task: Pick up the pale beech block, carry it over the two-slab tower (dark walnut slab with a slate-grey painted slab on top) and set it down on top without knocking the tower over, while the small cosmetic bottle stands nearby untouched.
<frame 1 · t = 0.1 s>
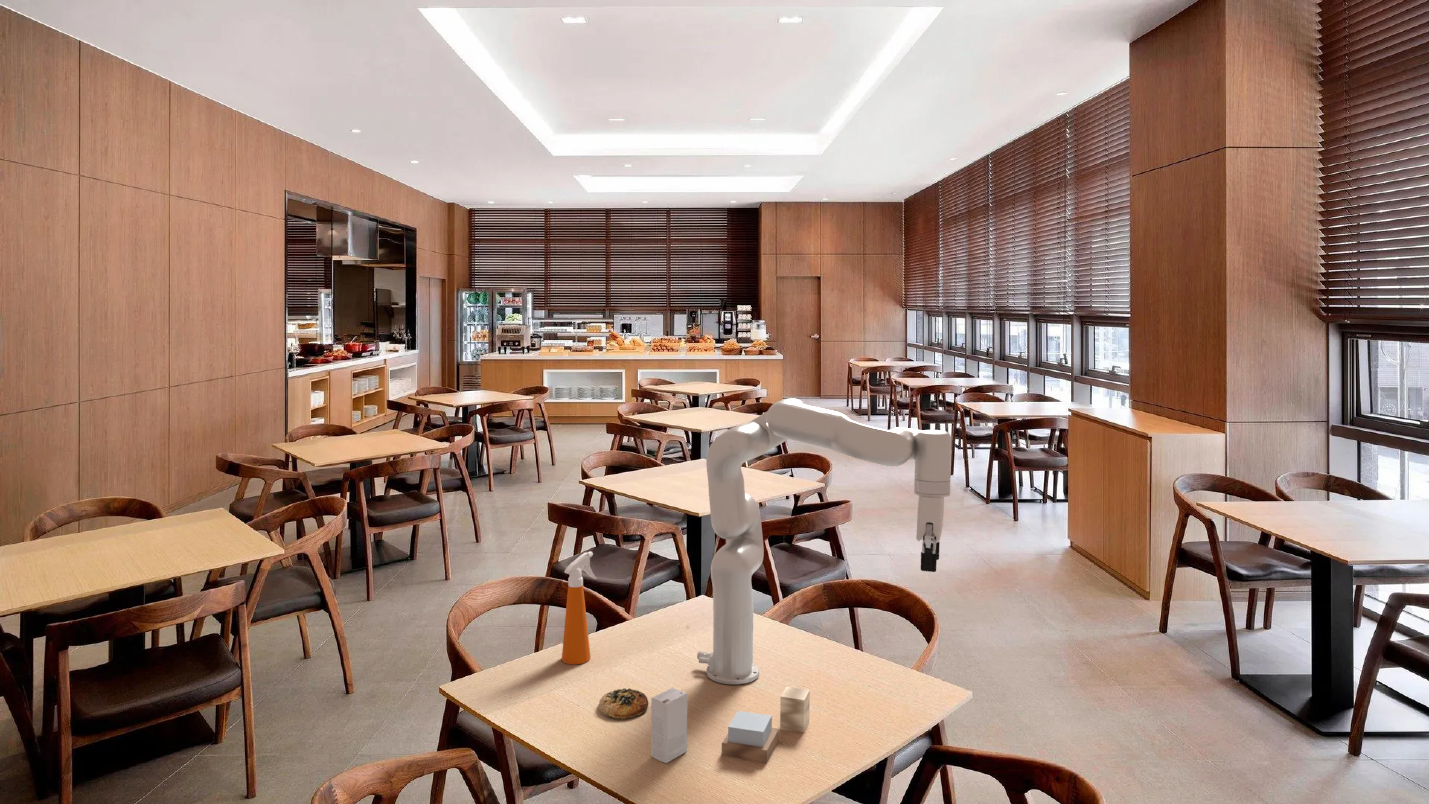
hand: (930, 564, 178), 31 cm above the table, tool pointing down, fingers open, 9 cm apart
beech block: (794, 725, 170), on the table
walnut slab: (750, 750, 160), on the table
bread roll: (622, 710, 177), on the table
skincare box: (669, 756, 157), on the table
spray bottle: (581, 657, 205), on the table
grey slab: (750, 735, 160), point 2 cm above the table
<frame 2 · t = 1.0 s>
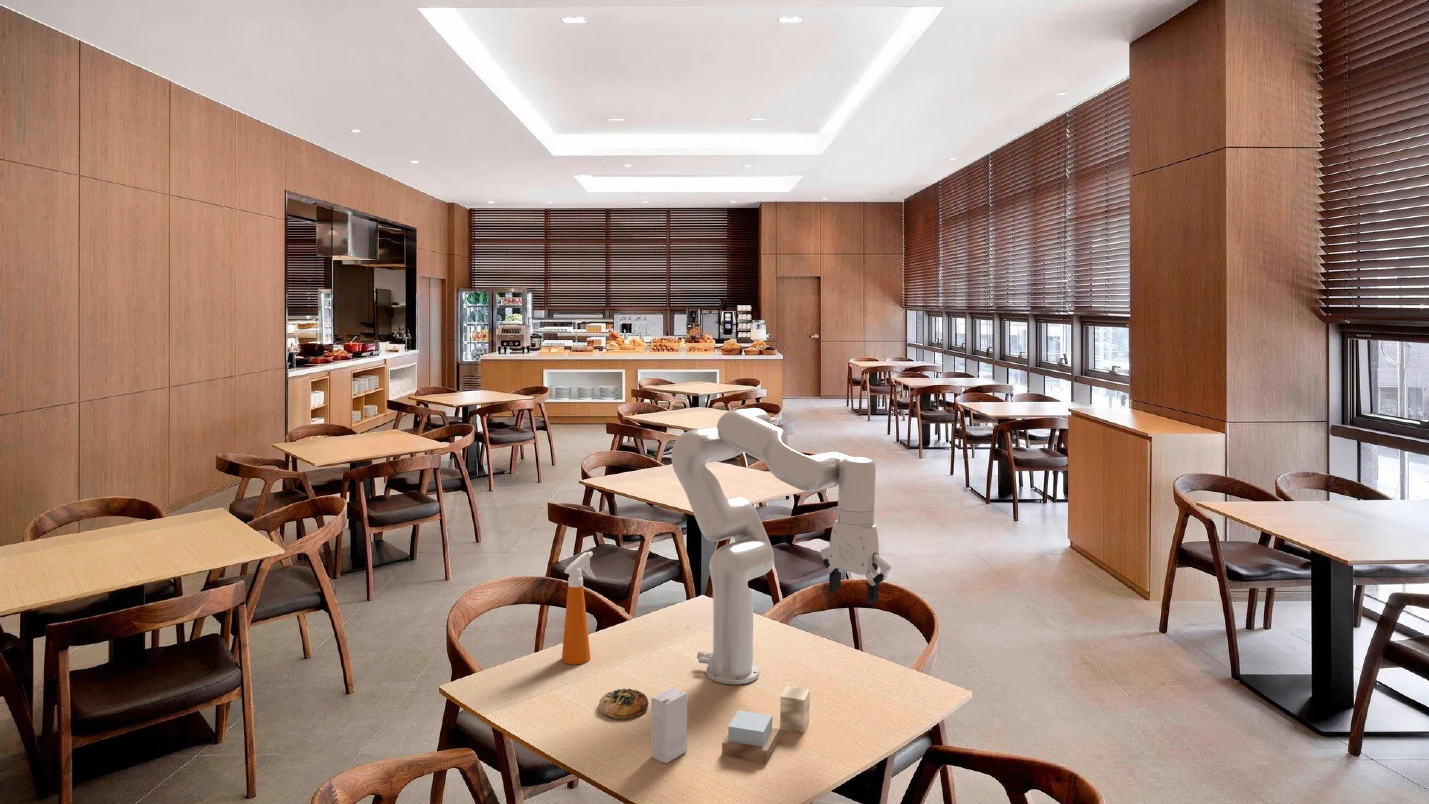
hand: (853, 596, 172), 26 cm above the table, tool pointing down, fingers open, 9 cm apart
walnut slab: (751, 750, 160), on the table, touching grey slab
grey slab: (750, 735, 160), point 2 cm above the table, touching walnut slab
everything else where it was.
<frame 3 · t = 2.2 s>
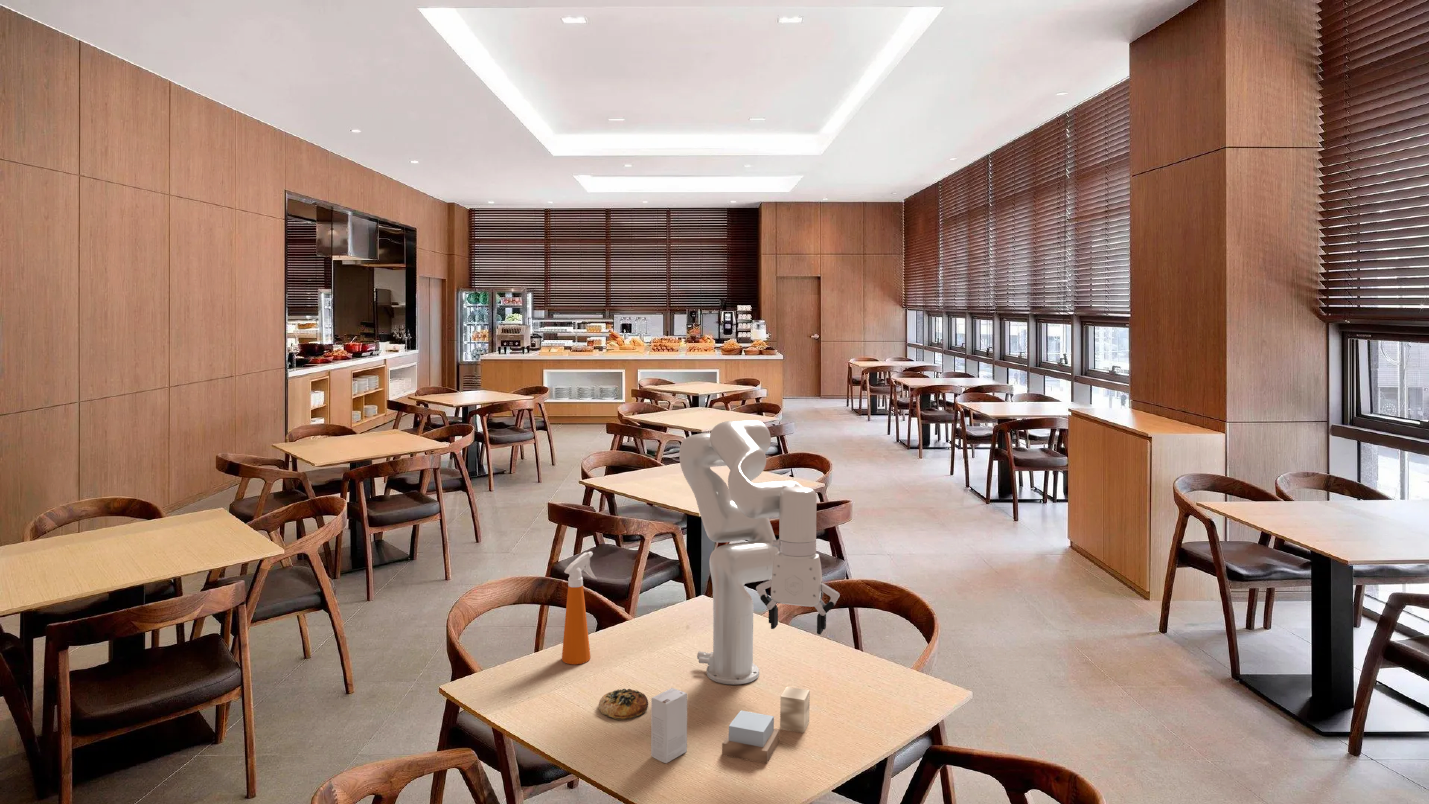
hand: (797, 629, 168), 21 cm above the table, tool pointing down, fingers open, 9 cm apart
nothing on the table moved.
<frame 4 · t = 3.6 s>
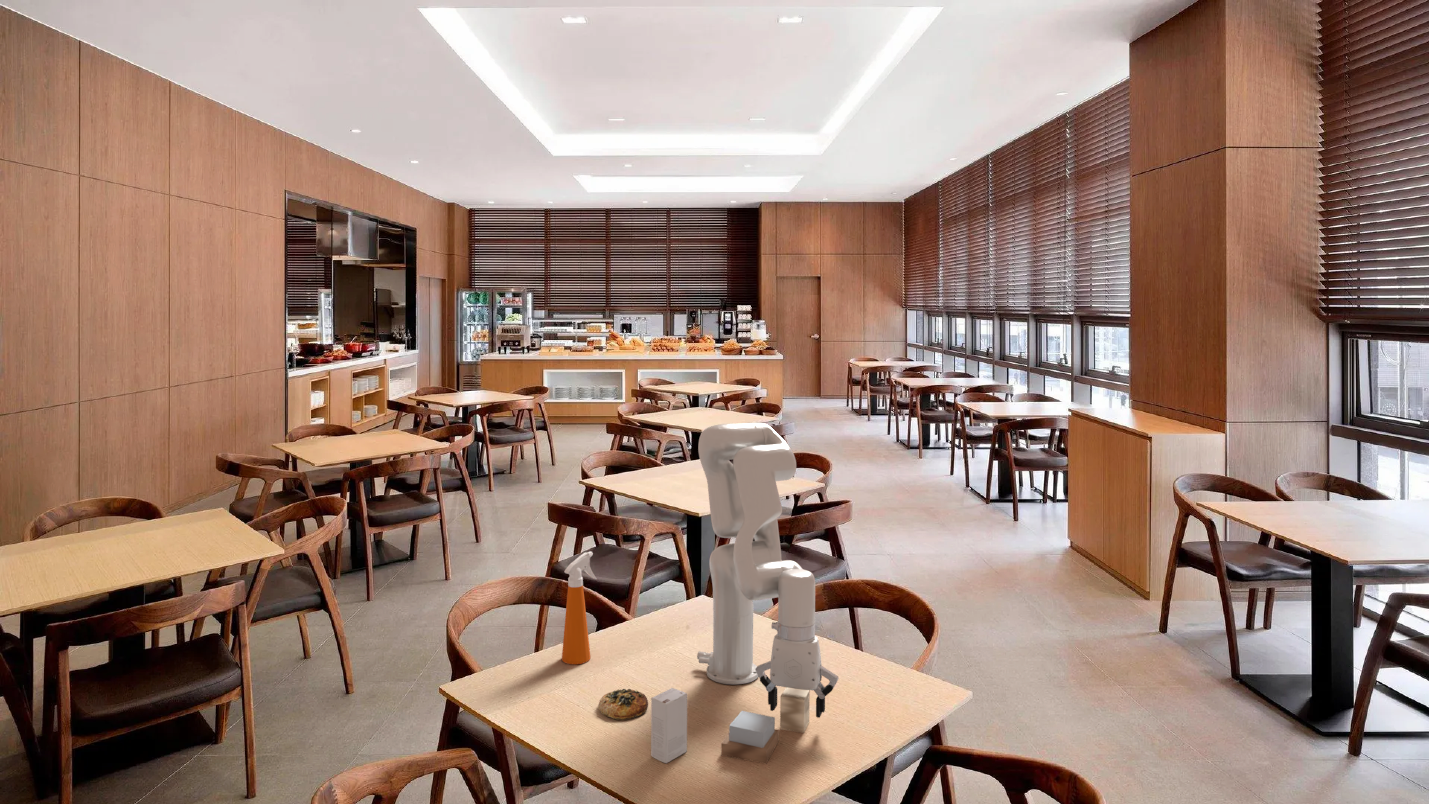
hand: (796, 711, 169), 3 cm above the table, tool pointing down, fingers open, 9 cm apart
nothing on the table moved.
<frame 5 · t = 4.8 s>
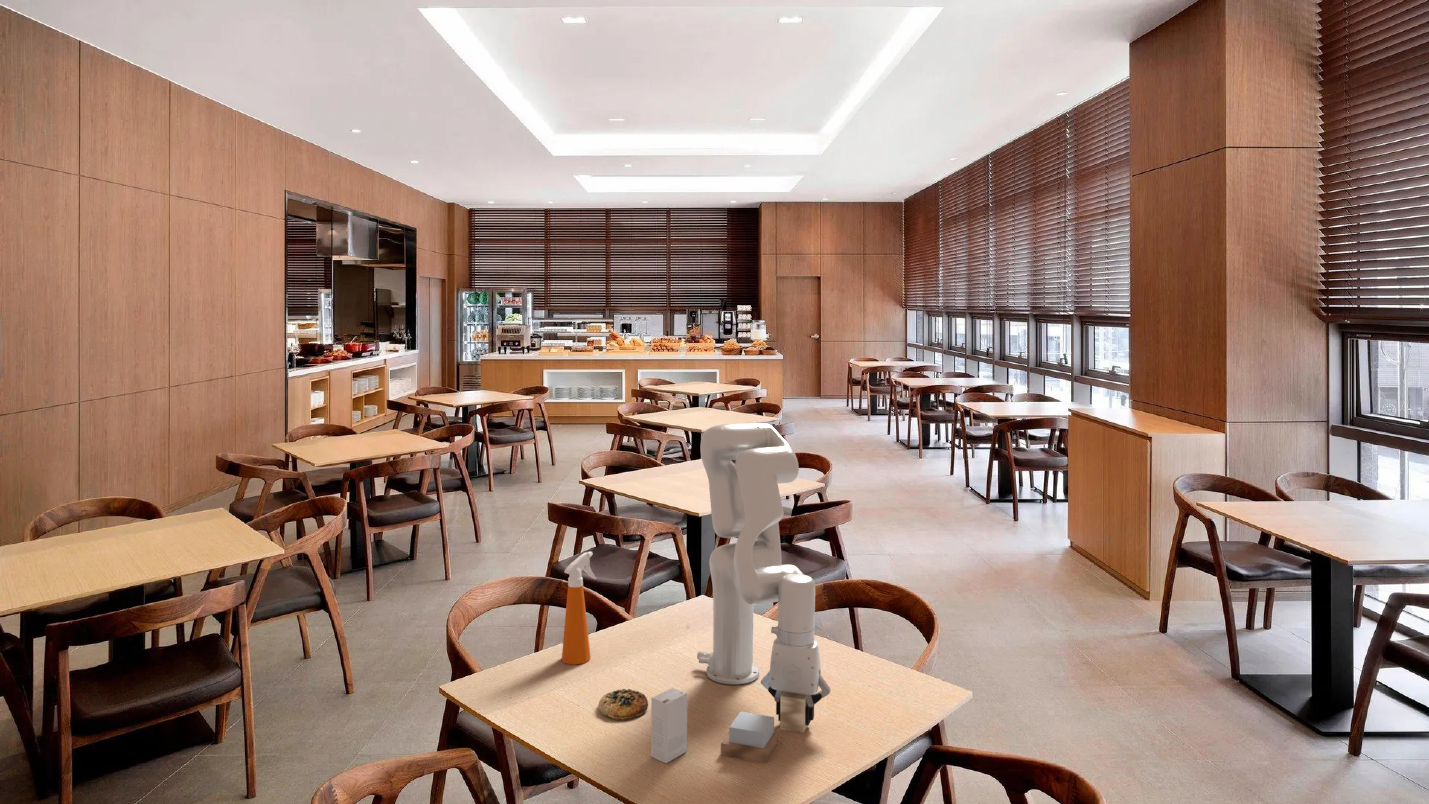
hand: (794, 719, 169), 1 cm above the table, tool pointing down, fingers closed on beech block, 5 cm apart
beech block: (794, 725, 170), on the table, touching gripper
everything else where it was.
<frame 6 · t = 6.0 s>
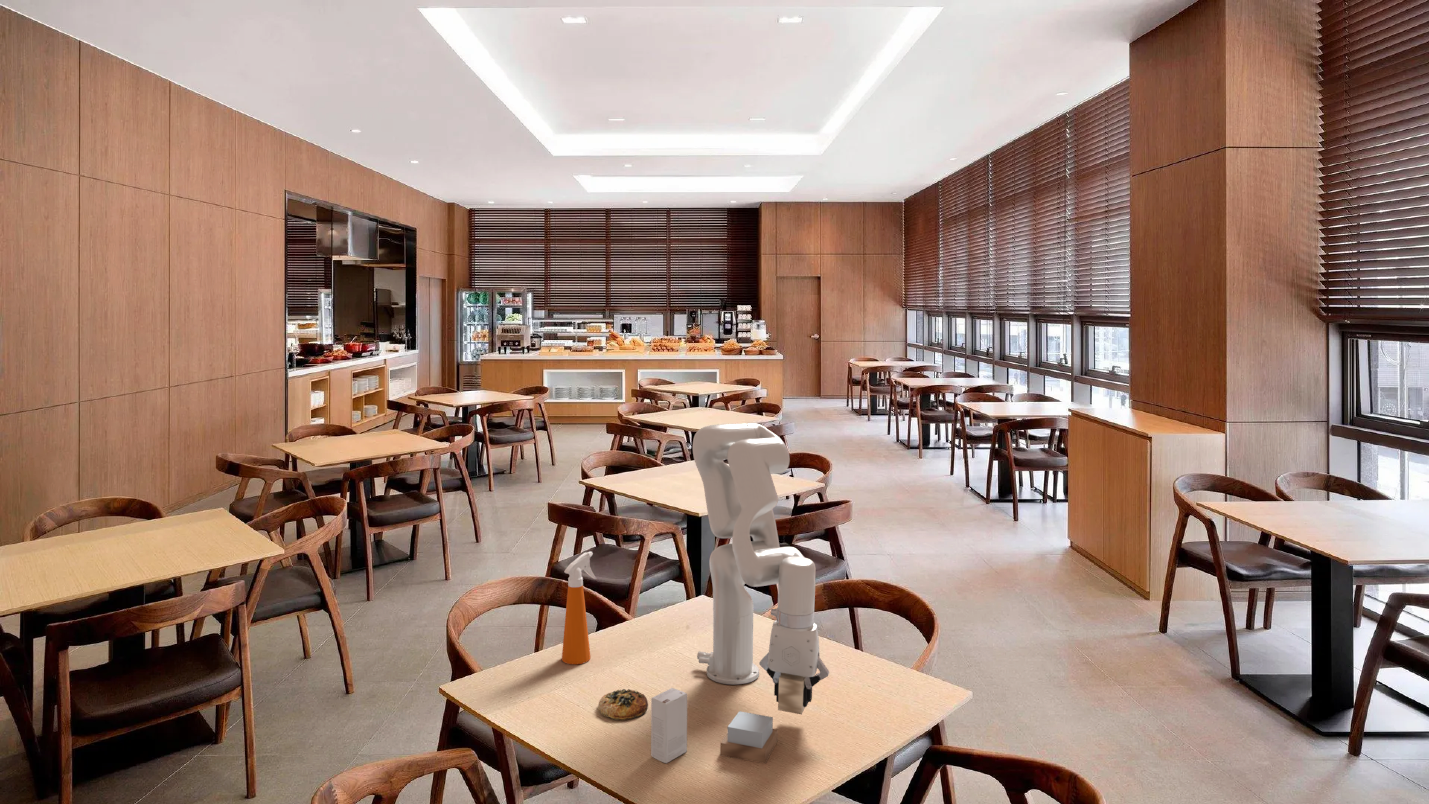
hand: (792, 700, 170), 5 cm above the table, tool pointing down, fingers closed on beech block, 5 cm apart
beech block: (792, 706, 170), point 4 cm above the table, touching gripper
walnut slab: (749, 750, 160), on the table
grey slab: (750, 736, 160), point 2 cm above the table
everything else where it was.
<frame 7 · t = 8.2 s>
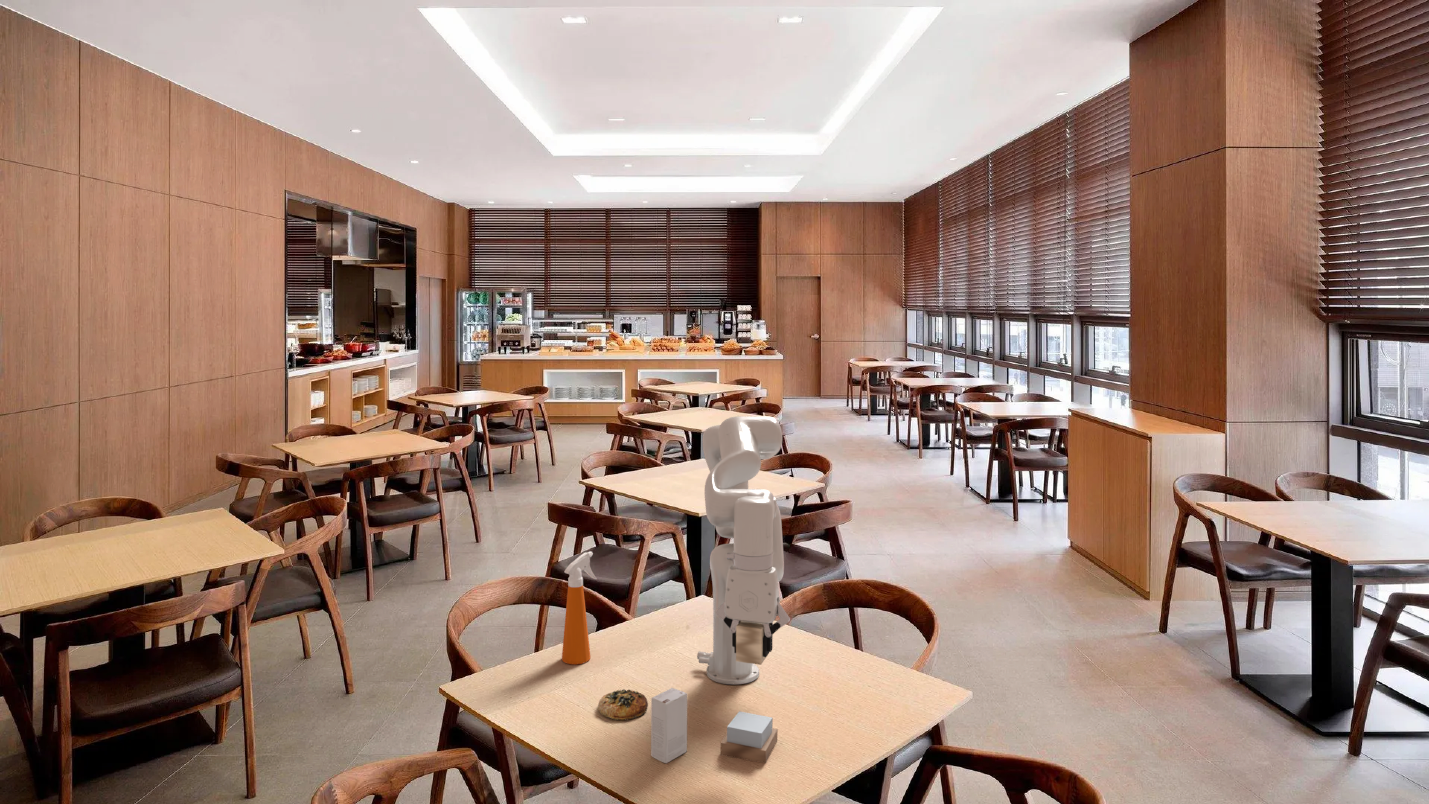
hand: (752, 651, 159), 19 cm above the table, tool pointing down, fingers closed on beech block, 5 cm apart
beech block: (752, 658, 159), point 18 cm above the table, touching gripper
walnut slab: (749, 750, 160), on the table, touching grey slab
grey slab: (749, 736, 160), point 2 cm above the table, touching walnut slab
everything else where it was.
when the fingers open (8 cm above the table, at t = 11.0 s): beech block drops 2 cm, resting on grey slab.
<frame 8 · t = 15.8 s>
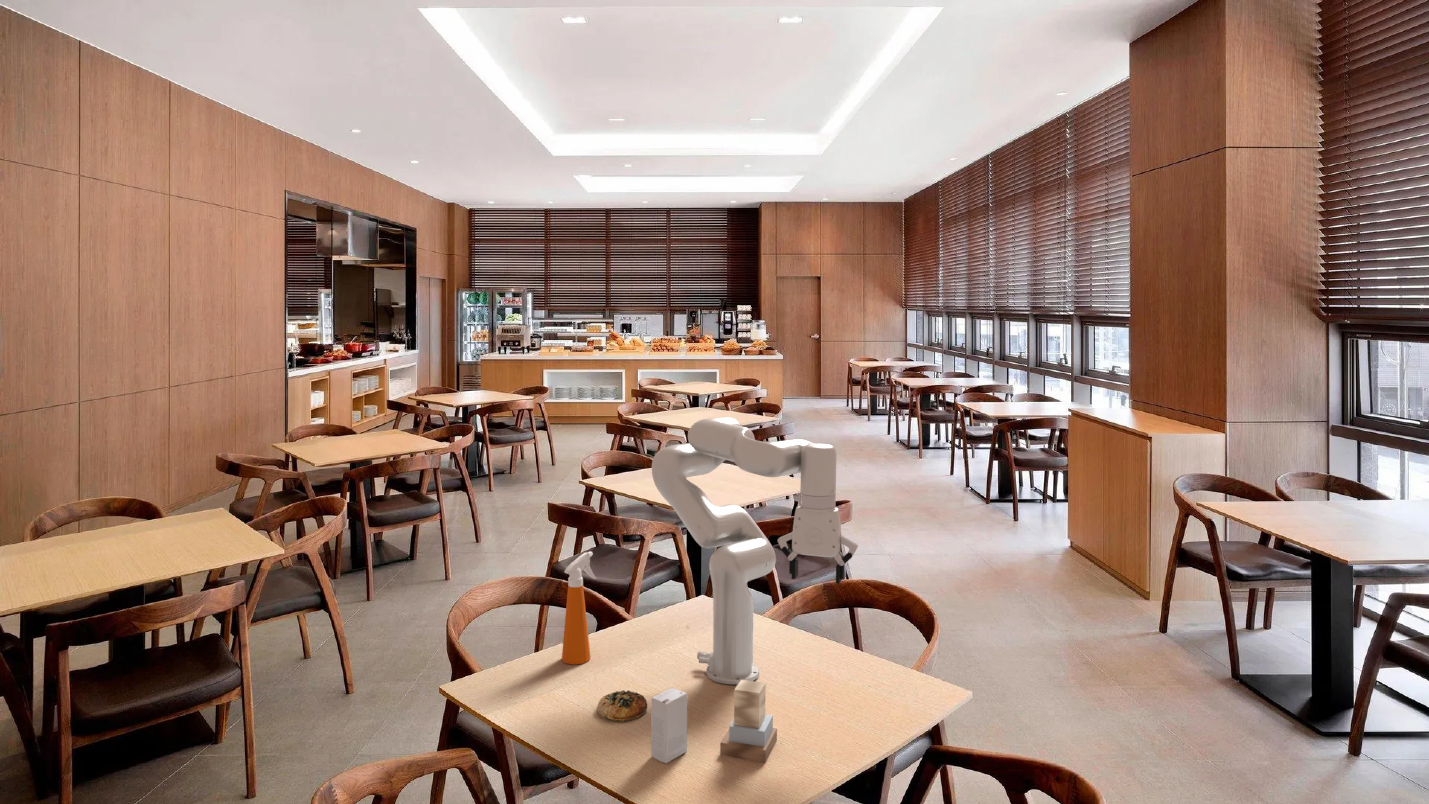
hand: (816, 579, 176), 28 cm above the table, tool pointing down, fingers open, 9 cm apart
beech block: (749, 721, 160), point 5 cm above the table, touching grey slab
grey slab: (751, 735, 160), point 2 cm above the table, touching beech block, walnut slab
at the end: beech block inside the target area on the grey slab (0.4 cm from its centre), point 3.0 cm above the grey slab's base; beech block tilted 1°; grey slab moved 0.6 cm from its start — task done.
